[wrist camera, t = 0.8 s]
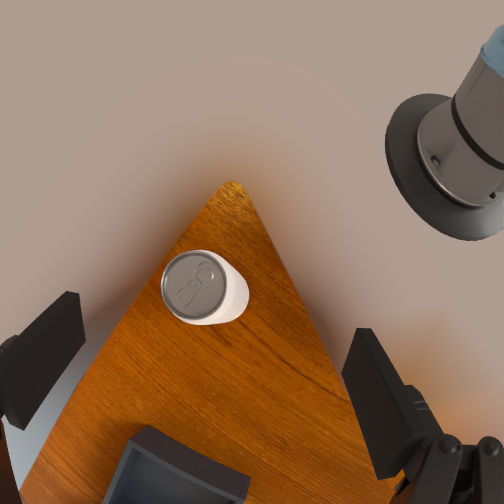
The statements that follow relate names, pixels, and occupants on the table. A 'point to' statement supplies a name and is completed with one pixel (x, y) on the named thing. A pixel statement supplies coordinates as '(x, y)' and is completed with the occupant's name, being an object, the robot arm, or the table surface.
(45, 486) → the table surface
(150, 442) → the tray
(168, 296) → the can
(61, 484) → the table surface
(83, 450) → the table surface
